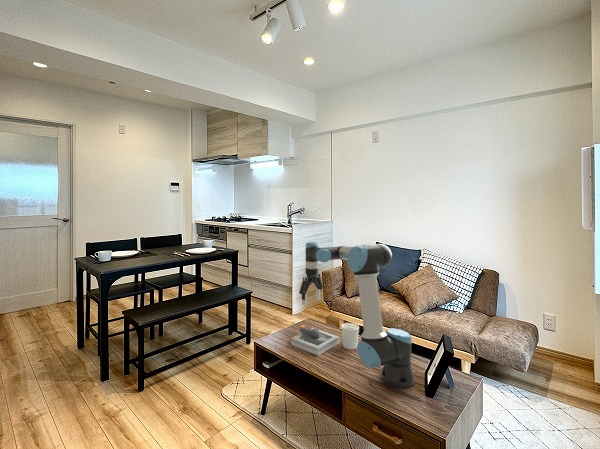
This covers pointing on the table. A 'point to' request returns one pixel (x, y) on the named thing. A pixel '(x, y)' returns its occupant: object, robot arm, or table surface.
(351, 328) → the candle holder
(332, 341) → the dial panel
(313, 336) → the dial
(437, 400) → the table surface
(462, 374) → the table surface
